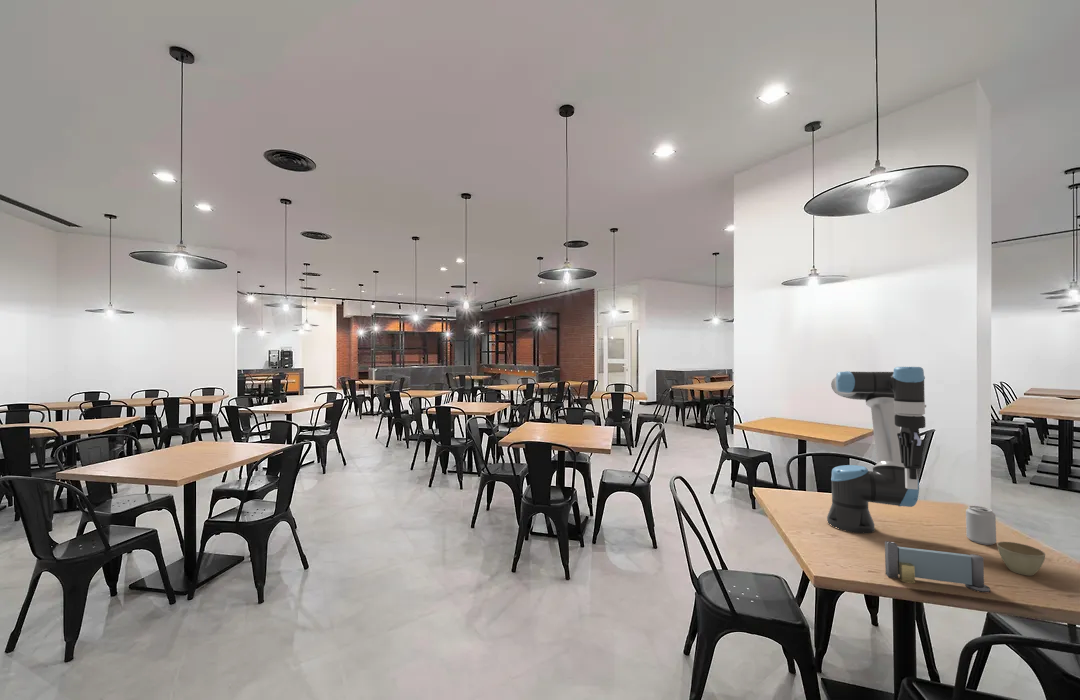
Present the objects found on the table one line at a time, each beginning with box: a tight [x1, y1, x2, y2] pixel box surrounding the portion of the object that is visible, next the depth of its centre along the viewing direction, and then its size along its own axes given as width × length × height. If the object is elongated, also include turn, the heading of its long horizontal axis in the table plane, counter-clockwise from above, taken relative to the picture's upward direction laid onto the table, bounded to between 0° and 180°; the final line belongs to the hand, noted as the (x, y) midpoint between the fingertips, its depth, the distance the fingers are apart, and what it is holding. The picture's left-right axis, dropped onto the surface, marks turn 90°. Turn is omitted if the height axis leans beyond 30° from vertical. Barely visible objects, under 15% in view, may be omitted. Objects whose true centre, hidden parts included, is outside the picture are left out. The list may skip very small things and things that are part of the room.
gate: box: [898, 546, 985, 587], centre depth 127 cm, size 20×3×8 cm, turn 70°
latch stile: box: [884, 540, 916, 584], centre depth 129 cm, size 6×4×10 cm
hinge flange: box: [964, 584, 991, 593], centre depth 124 cm, size 5×5×1 cm
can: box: [965, 505, 997, 546], centre depth 155 cm, size 8×8×12 cm
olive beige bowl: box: [996, 541, 1046, 577], centre depth 133 cm, size 10×10×7 cm
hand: (911, 488), depth 138 cm, fingers closed
